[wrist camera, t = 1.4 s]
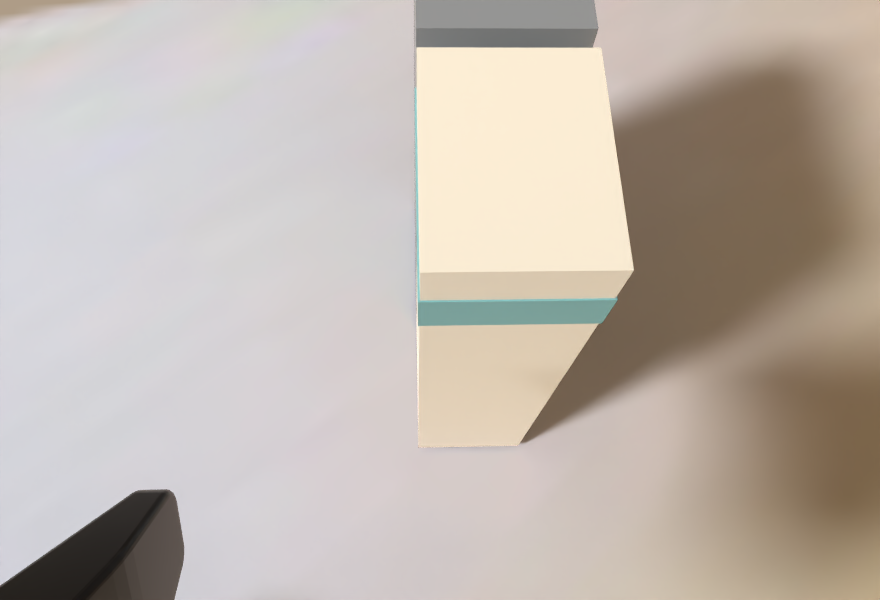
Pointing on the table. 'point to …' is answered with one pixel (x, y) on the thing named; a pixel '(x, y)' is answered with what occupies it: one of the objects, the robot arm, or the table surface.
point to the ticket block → (502, 28)
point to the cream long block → (510, 233)
